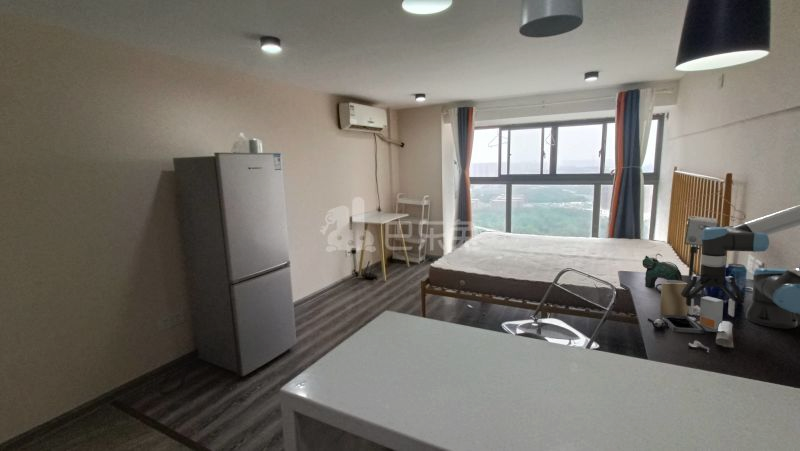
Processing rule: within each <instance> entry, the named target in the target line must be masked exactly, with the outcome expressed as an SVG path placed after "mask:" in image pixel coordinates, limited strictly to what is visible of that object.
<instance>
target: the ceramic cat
mask: <svg viewBox="0 0 800 451" xmlns="http://www.w3.org/2000/svg"><path fill="white" fill-rule="evenodd" d="M658 255H659V256H660V257H663V256H662V254H660V253H657V254H656V255H655V257H649V256H648V255H645V257H644V259H643V260H642V266H643V268H645V269H646V272H645V276H644V277H645V278H644V280H645V281H644V282H645V284H644V286H645V287H646V288H656V282H657V280H658V279H663V280H665V281H667V280H677V281H682V282H684V281H683V276H682V272H681V270H680V269H679V267H678V266H677V264H675V263H673V262H670V261H667V262H666V261H660V260H658V258H657V256H658Z"/></svg>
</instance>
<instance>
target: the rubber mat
mask: <svg viewBox="0 0 800 451" xmlns="http://www.w3.org/2000/svg"><path fill="white" fill-rule="evenodd" d="M699 322H700V321H699V320H698V321H695V323H696V324H697V325H698V326H700V327H701V328H702V329H703V330H704V331H706V332H712V333H718V332H717V329H712V328H710V327H707V326H704V325H701V324H699Z"/></svg>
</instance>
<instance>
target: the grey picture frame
mask: <svg viewBox="0 0 800 451" xmlns="http://www.w3.org/2000/svg"><path fill="white" fill-rule="evenodd" d="M661 317H662V318H664V319H665V320H666V322H667V323H668V325H667V326H668V327H669V328H670V329H671V331H673V333H674V332H675V333H676V332H677V333H692V334H704V331H705V330H704V329H703V328H702V327H701V326H700V325H699V324H697V323H696V321H694V320H693V319H692V318H690V317H689V316H688V315H687V316H683V315H664V314H660V318H661ZM666 317H683V318H686V319H687V320H688V321H689V323H688V324H690V326H692V327H677V326H676V325H674V324H673V323H672V321H670V319H667V318H666Z"/></svg>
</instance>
